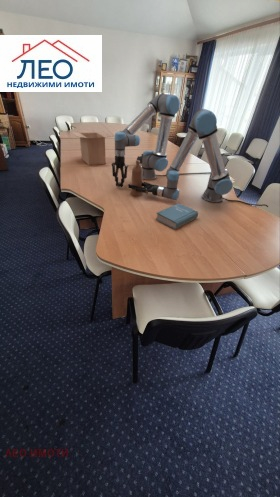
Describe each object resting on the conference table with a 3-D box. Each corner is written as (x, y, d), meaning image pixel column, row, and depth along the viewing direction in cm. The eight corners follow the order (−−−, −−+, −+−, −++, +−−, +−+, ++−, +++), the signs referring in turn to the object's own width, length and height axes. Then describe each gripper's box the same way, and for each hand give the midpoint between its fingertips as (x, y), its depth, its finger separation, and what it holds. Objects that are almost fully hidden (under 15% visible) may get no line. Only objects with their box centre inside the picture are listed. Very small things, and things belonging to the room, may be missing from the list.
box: (116, 165, 229) (116, 136, 213) (83, 168, 214) (80, 137, 198) (102, 154, 259) (101, 128, 243) (71, 156, 244) (68, 129, 228)
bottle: (129, 194, 172) (130, 160, 157) (134, 191, 177) (136, 158, 162) (137, 196, 168) (139, 162, 153) (143, 193, 174) (145, 160, 159)
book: (177, 209, 154) (178, 203, 151) (197, 218, 145) (198, 211, 142) (156, 219, 141) (156, 212, 138) (175, 230, 132) (177, 222, 129)
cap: (120, 187, 177) (120, 184, 175) (116, 186, 177) (116, 183, 176) (122, 185, 180) (122, 182, 178) (118, 184, 180) (118, 181, 179)
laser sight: (156, 165, 238) (157, 155, 232) (135, 163, 241) (136, 153, 235) (157, 163, 245) (158, 153, 240) (137, 160, 248) (138, 151, 242)
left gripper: (107, 154, 164) (108, 185, 178) (128, 158, 160) (127, 189, 174) (112, 152, 170) (112, 182, 184) (132, 156, 165) (130, 186, 179)
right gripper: (152, 200, 158) (124, 193, 165) (162, 191, 173) (136, 184, 180) (153, 190, 153) (124, 183, 160) (164, 181, 169) (137, 175, 176)
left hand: (119, 185), depth 179 cm, fingers closed on cap, 4 cm apart
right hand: (131, 184), depth 170 cm, fingers closed on bottle, 8 cm apart
